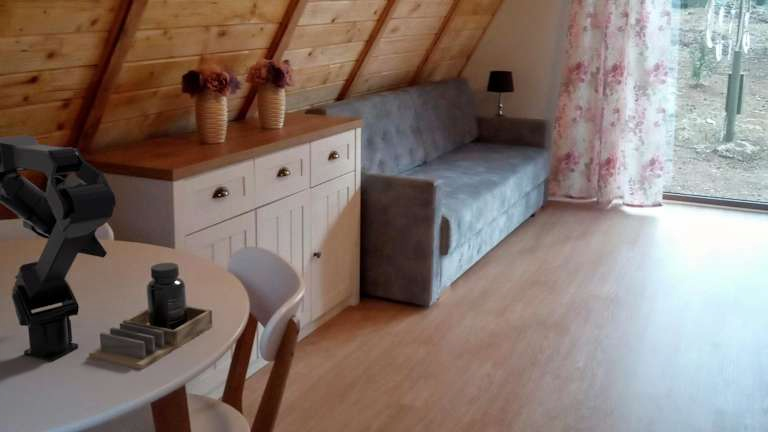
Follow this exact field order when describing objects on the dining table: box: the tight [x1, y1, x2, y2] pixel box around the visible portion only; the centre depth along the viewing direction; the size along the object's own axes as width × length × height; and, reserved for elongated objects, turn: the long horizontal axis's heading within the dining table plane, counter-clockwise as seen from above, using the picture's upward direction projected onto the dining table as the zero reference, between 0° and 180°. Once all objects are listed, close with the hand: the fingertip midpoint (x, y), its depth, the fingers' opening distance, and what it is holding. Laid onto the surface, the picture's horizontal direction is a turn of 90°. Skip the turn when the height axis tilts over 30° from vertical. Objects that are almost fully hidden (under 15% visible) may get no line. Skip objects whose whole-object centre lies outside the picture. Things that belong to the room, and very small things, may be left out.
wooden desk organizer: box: [88, 305, 213, 370], centre depth 148 cm, size 20×11×4 cm, turn 157°
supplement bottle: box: [146, 262, 188, 330], centre depth 151 cm, size 7×7×12 cm
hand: (92, 249), depth 155 cm, fingers open, 9 cm apart
